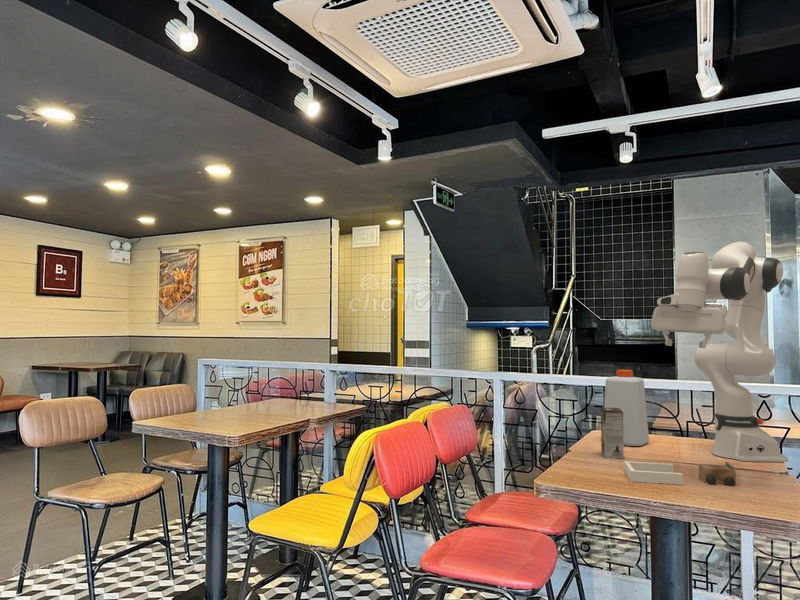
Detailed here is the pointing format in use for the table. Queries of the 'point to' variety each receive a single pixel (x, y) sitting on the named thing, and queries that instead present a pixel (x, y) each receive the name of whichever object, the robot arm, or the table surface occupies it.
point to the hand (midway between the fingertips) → (685, 346)
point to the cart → (717, 474)
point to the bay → (652, 473)
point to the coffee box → (612, 433)
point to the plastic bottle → (629, 405)
